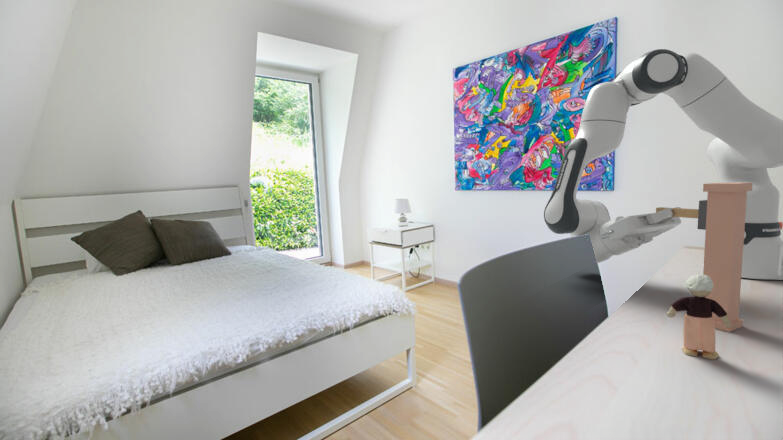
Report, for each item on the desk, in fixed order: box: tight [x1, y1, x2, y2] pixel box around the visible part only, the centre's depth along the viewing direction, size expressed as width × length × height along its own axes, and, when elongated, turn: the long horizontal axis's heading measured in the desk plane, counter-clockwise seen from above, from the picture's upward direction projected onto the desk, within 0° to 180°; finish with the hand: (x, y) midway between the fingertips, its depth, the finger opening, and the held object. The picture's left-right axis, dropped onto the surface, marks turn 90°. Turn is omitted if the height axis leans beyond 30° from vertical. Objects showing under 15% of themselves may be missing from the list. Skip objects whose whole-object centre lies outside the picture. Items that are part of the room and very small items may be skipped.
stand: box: [702, 182, 753, 333], centre depth 68 cm, size 5×5×26 cm
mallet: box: [655, 199, 707, 231], centre depth 82 cm, size 4×13×6 cm, turn 27°
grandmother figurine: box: [666, 273, 732, 360], centre depth 58 cm, size 8×4×13 cm, turn 65°
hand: (676, 210), depth 85 cm, fingers closed on mallet, 2 cm apart
